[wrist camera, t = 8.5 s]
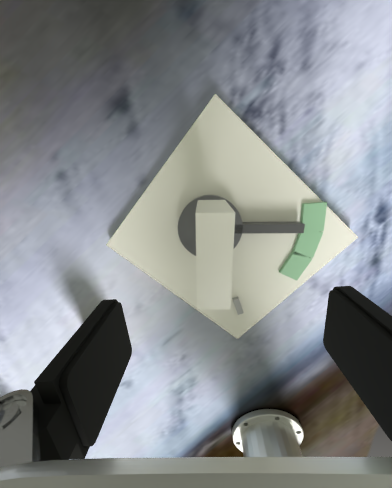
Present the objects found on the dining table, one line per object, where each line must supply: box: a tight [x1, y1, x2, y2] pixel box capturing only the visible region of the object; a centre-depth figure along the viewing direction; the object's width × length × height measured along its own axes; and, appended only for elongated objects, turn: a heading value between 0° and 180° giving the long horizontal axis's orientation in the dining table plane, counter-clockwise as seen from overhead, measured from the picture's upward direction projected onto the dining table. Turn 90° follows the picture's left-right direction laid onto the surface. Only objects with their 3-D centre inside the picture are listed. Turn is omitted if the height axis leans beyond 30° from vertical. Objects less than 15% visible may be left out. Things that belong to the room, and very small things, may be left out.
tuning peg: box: [178, 195, 305, 310], centre depth 18 cm, size 14×7×10 cm, turn 91°
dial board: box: [106, 94, 358, 339], centre depth 25 cm, size 22×20×2 cm
